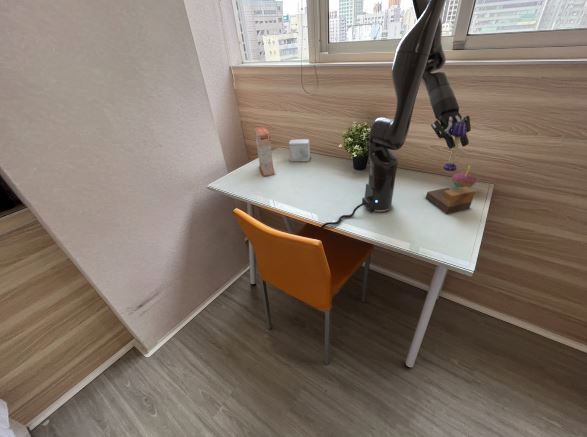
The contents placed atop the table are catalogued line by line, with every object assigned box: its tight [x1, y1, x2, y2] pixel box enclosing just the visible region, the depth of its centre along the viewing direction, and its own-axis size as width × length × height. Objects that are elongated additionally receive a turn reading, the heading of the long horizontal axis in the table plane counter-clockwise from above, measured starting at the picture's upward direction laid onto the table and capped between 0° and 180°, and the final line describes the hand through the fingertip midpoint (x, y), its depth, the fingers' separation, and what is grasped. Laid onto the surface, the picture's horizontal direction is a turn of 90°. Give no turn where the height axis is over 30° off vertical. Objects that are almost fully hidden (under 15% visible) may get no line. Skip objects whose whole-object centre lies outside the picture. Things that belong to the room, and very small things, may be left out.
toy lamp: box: [443, 121, 467, 172], centre depth 95 cm, size 5×5×17 cm
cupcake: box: [451, 164, 477, 189], centre depth 108 cm, size 9×8×12 cm
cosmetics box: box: [288, 138, 311, 162], centre depth 148 cm, size 10×6×10 cm, turn 80°
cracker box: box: [253, 126, 275, 177], centre depth 137 cm, size 14×6×21 cm, turn 13°
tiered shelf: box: [425, 186, 476, 215], centre depth 102 cm, size 10×12×8 cm
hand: (459, 146), depth 93 cm, fingers closed on toy lamp, 4 cm apart
